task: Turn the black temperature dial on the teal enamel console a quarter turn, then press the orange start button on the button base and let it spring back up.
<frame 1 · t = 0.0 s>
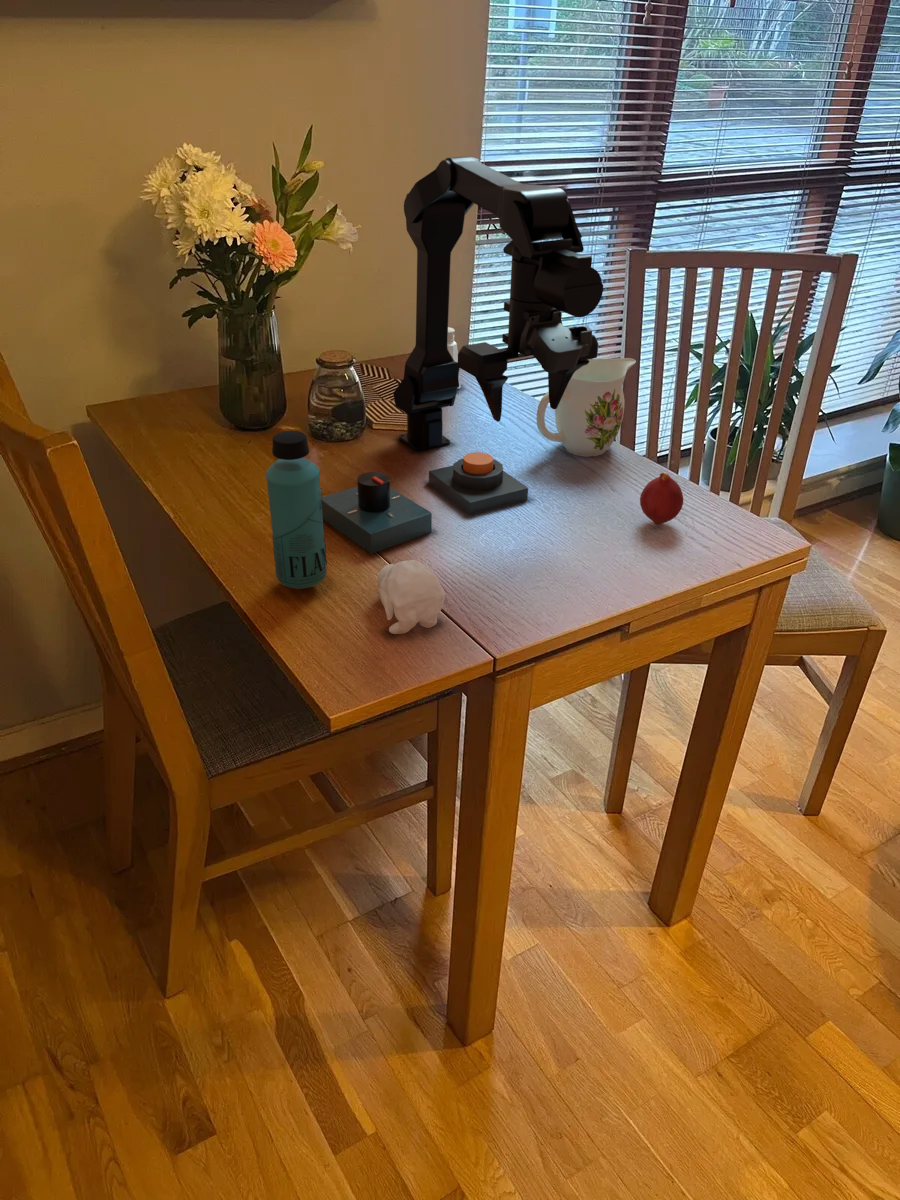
hand: (525, 414, 124), 15 cm above the table, tool pointing down, fingers open, 9 cm apart
pitcher: (580, 450, 151), on the table
button base: (477, 491, 138), on the table
beverage bottle: (302, 586, 115), on the table
white lumpy figure: (404, 616, 110), on the table
onion: (657, 525, 130), on the table
start button: (478, 463, 135), point 4 cm above the table, slide at 0.1 cm
dial: (373, 490, 126), point 5 cm above the table, hinge at 0.0°
dial console: (375, 524, 128), on the table
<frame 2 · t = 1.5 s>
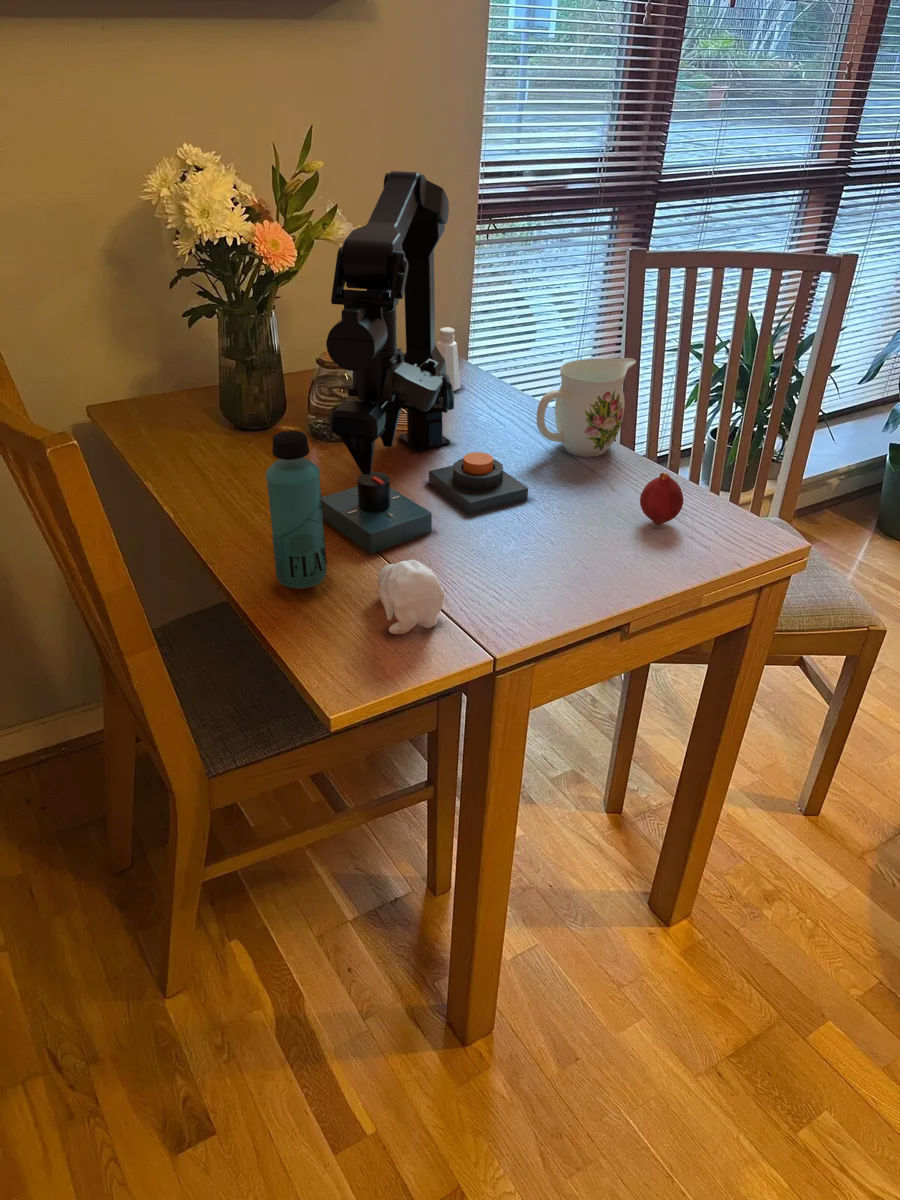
hand: (377, 459, 123), 10 cm above the table, tool pointing down, fingers open, 9 cm apart
nothing on the table moved.
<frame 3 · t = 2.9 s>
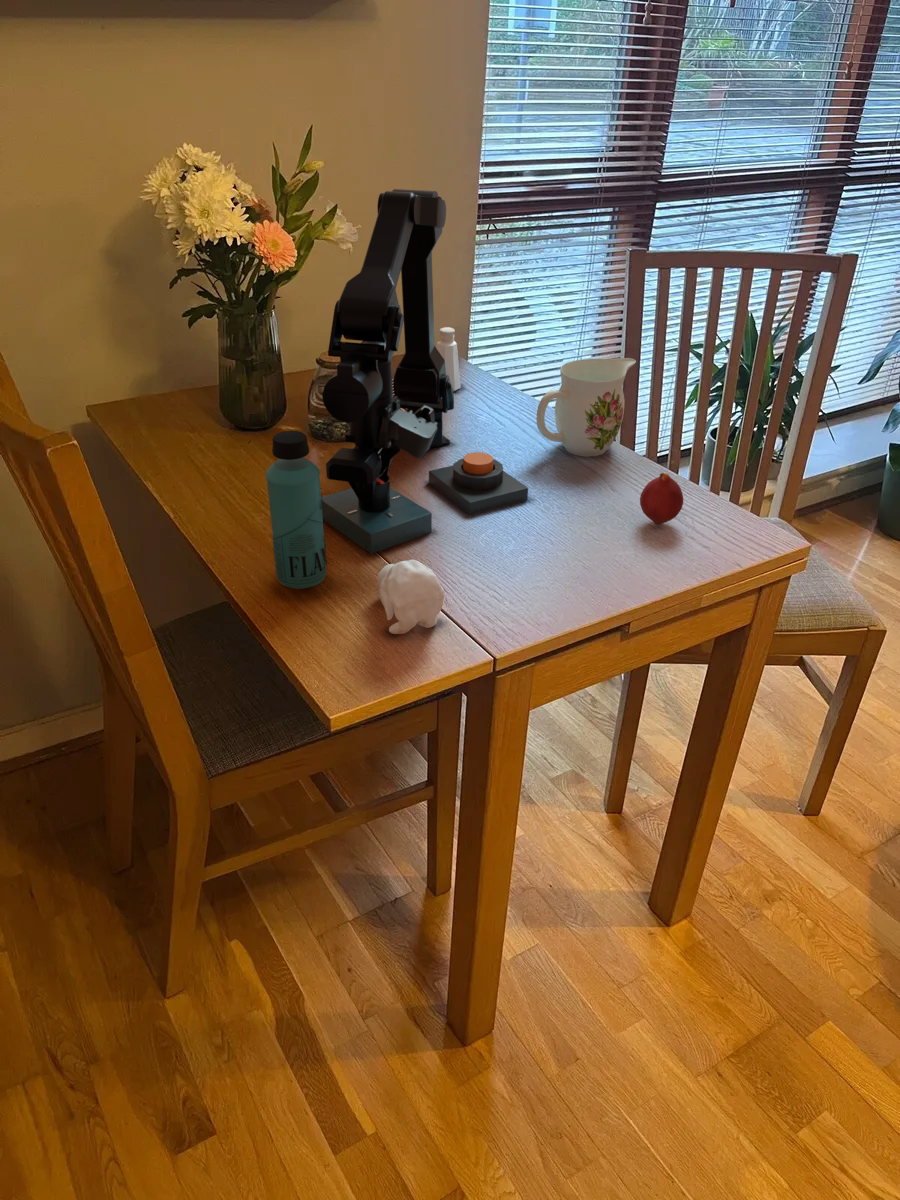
hand: (374, 502, 126), 4 cm above the table, tool pointing down, fingers closed on dial, 4 cm apart
dial: (373, 490, 126), point 5 cm above the table, hinge at 0.0°, touching gripper
everything else where it was.
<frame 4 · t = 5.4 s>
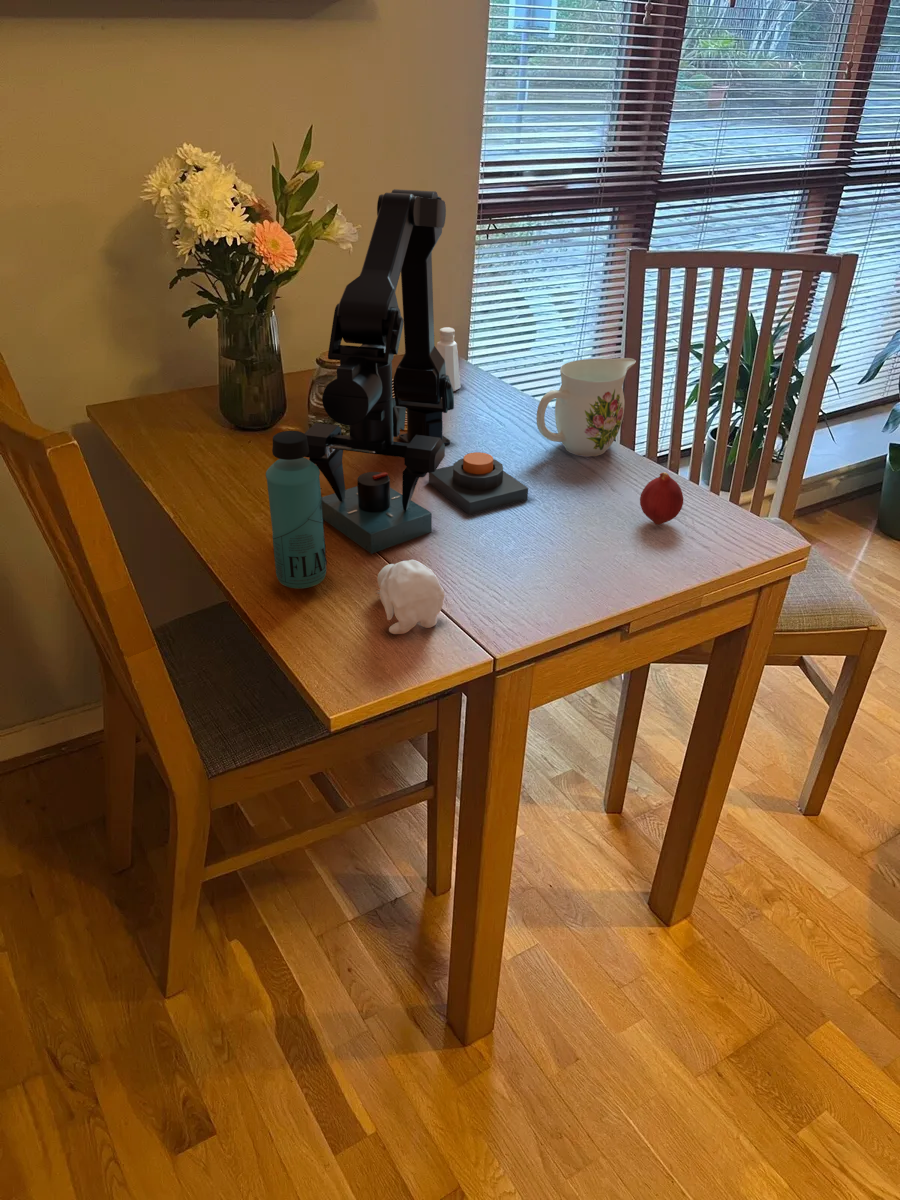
hand: (373, 504, 127), 3 cm above the table, tool pointing down, fingers open, 9 cm apart
dial: (373, 490, 126), point 5 cm above the table, hinge at 90.2°
everything else where it was.
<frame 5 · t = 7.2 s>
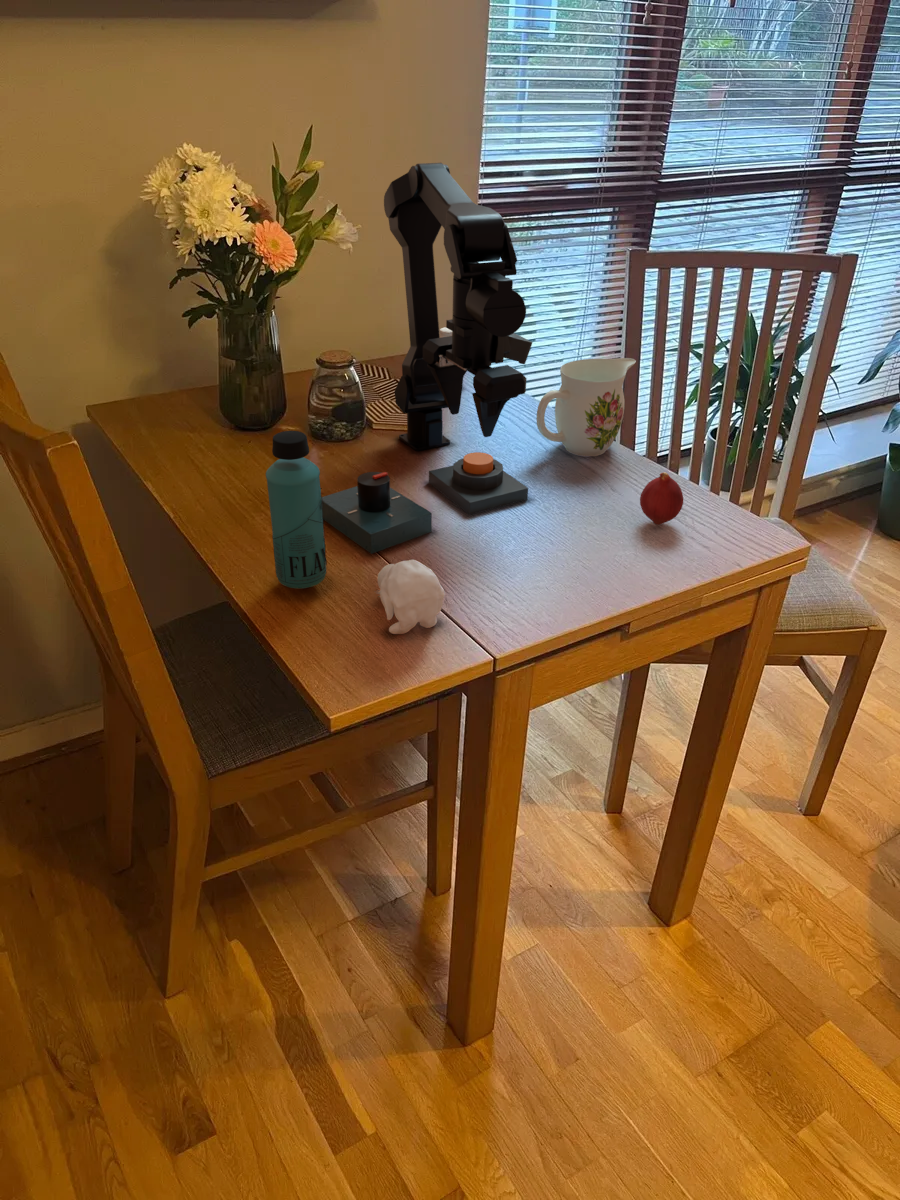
hand: (470, 424, 131), 11 cm above the table, tool pointing down, fingers open, 9 cm apart
nothing on the table moved.
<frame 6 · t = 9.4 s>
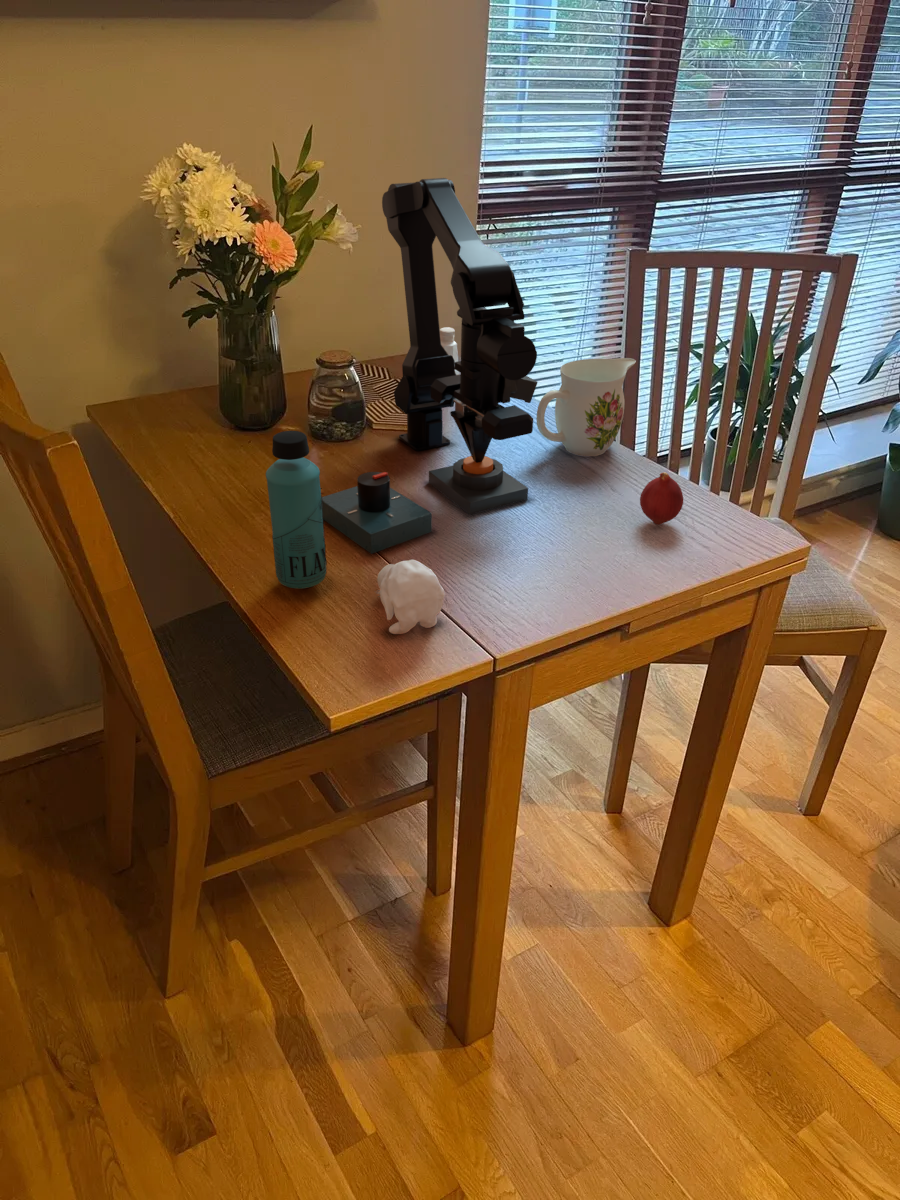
hand: (478, 461, 135), 5 cm above the table, tool pointing down, fingers closed, pressing on start button
start button: (478, 466, 135), point 4 cm above the table, slide at -0.4 cm, touching gripper
everything else where it was.
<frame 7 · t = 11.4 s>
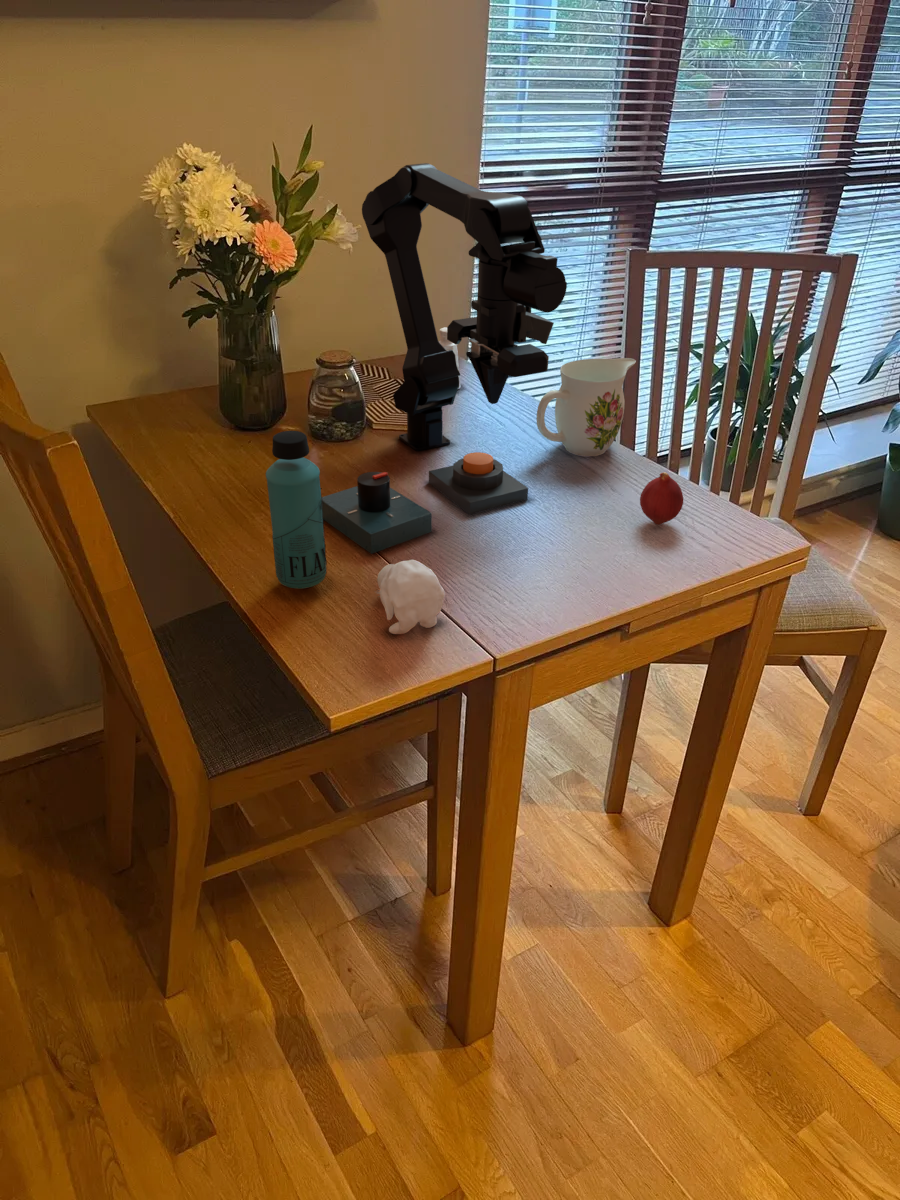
hand: (493, 402, 136), 12 cm above the table, tool pointing down, fingers closed
start button: (478, 463, 135), point 4 cm above the table, slide at 0.1 cm
everything else where it was.
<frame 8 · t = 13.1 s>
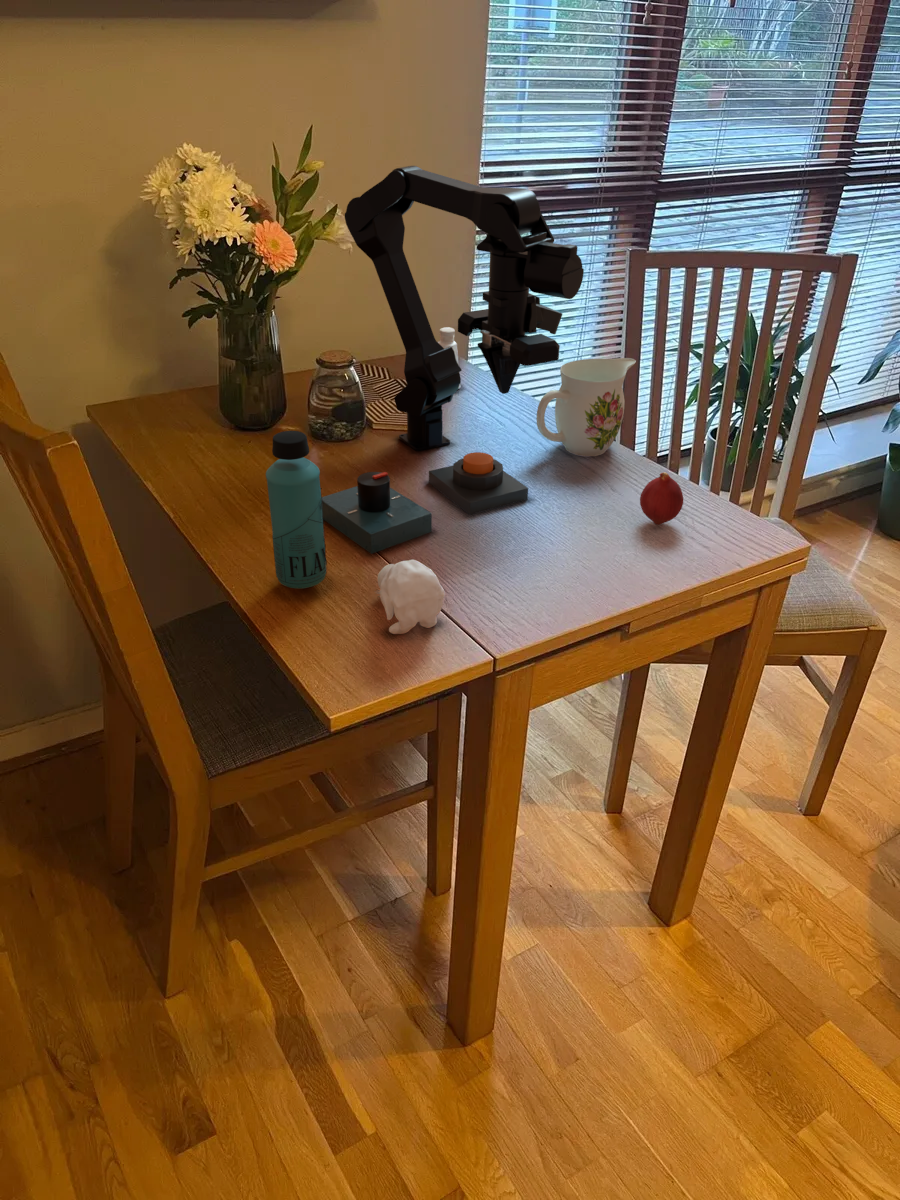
hand: (504, 392, 139), 12 cm above the table, tool pointing down, fingers closed
nothing on the table moved.
at the end: dial at +90° (first picture: +0°); start button pushed in 1.3 cm at the most during the clip, back to where it started at the end; start button slide at 0.1 cm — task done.
